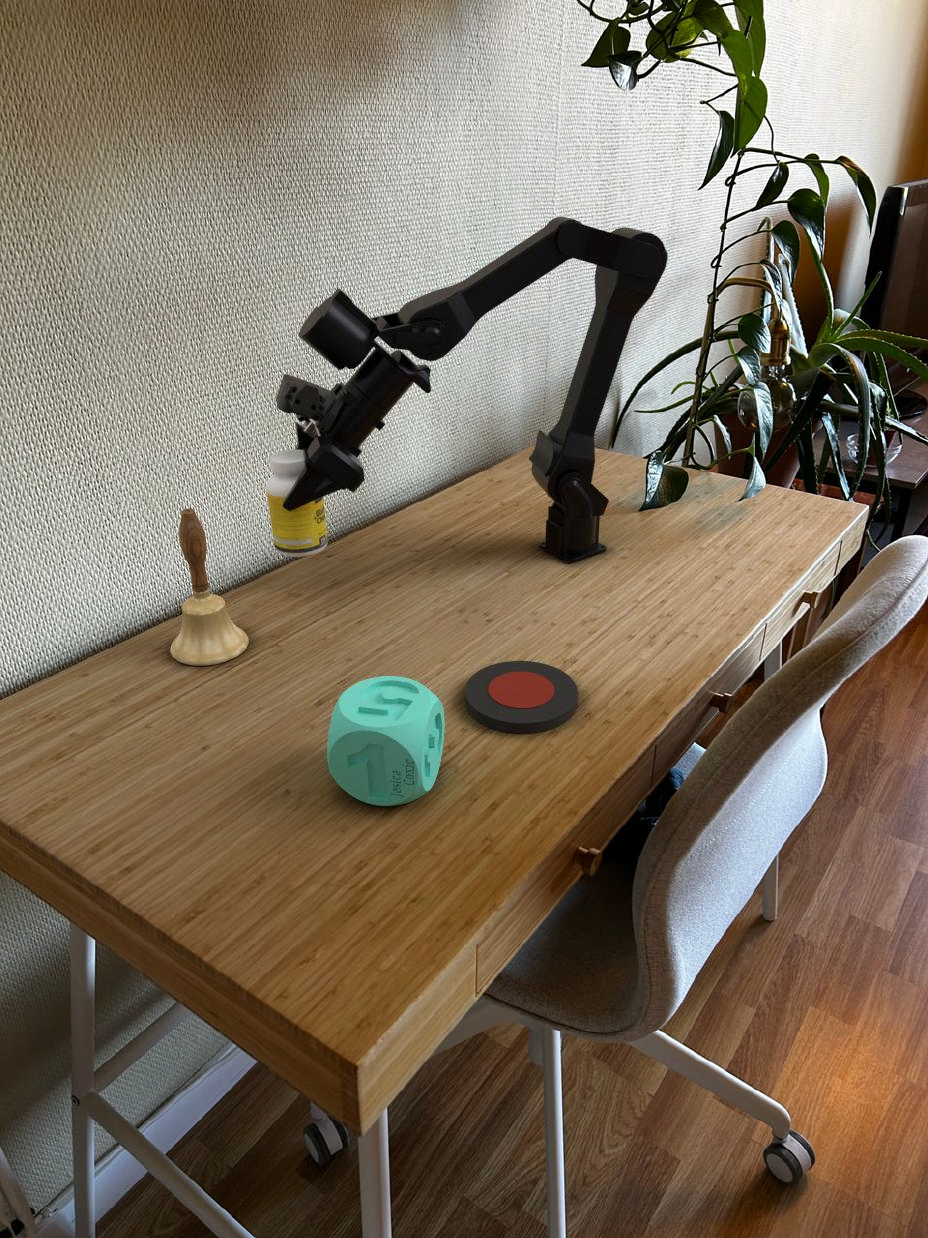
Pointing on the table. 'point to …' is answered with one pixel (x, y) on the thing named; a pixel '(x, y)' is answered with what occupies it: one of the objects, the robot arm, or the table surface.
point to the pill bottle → (300, 526)
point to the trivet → (521, 697)
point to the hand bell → (203, 608)
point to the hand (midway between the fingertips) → (283, 498)
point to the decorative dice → (386, 740)
